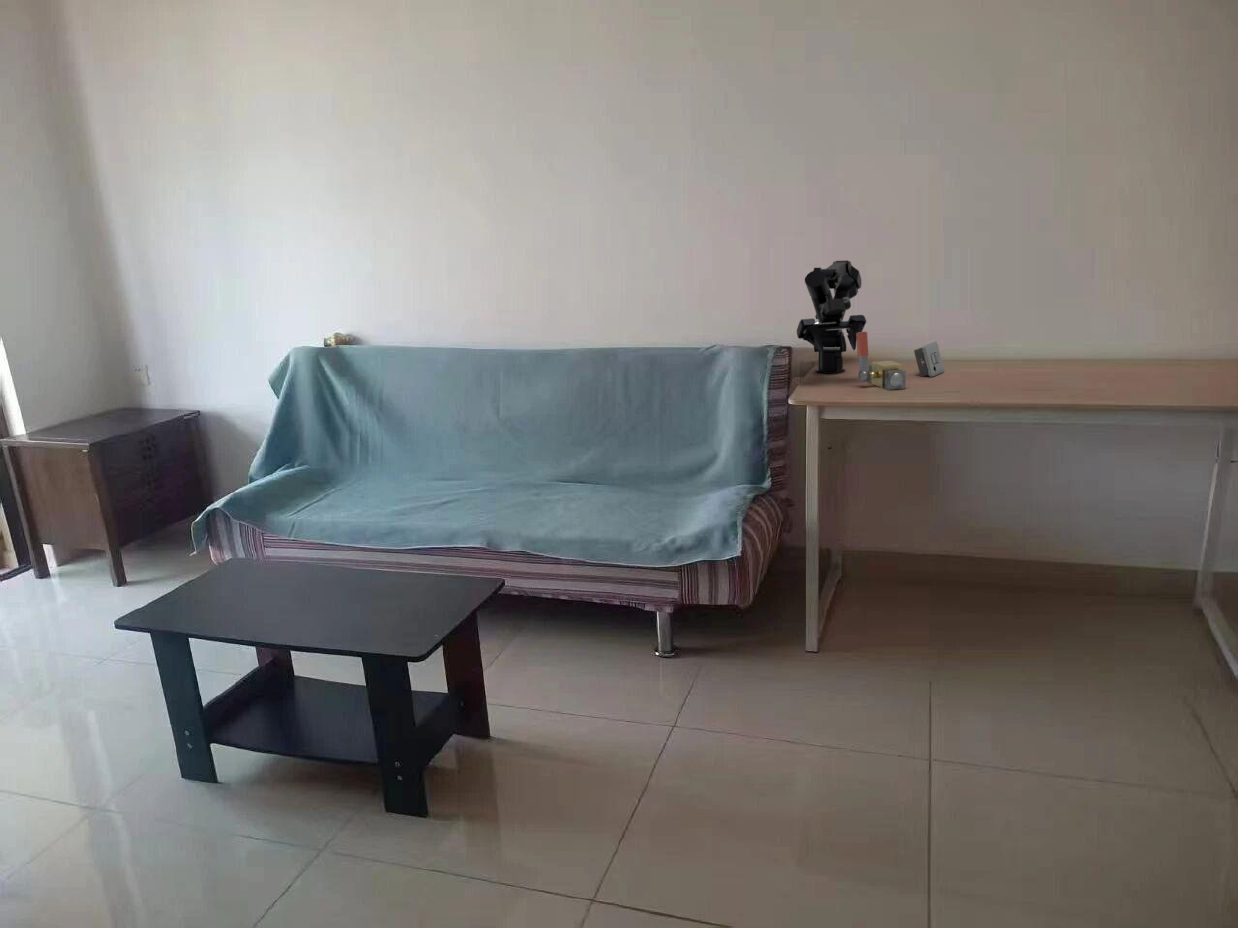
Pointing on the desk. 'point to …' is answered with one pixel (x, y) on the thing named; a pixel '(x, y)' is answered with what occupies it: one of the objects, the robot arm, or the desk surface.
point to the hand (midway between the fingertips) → (838, 350)
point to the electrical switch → (929, 359)
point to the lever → (862, 356)
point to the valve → (887, 375)
